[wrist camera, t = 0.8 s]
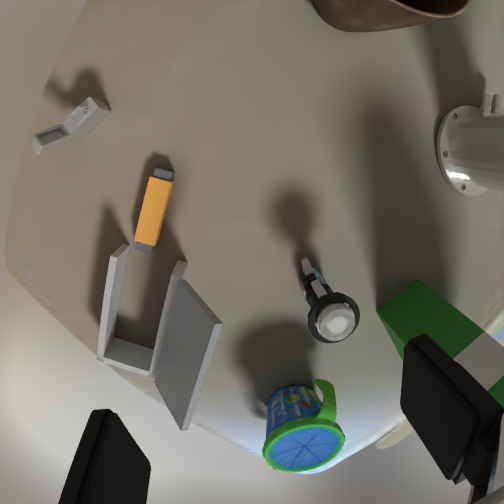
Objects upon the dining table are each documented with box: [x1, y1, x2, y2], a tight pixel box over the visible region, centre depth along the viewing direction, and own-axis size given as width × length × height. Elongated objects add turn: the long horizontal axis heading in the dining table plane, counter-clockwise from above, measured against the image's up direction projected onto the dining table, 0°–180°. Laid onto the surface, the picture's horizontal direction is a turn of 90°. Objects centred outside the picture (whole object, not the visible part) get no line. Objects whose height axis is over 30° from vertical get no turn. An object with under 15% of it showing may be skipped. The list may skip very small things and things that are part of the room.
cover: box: [154, 279, 223, 431], centre depth 31 cm, size 14×8×1 cm
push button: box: [300, 258, 360, 343], centre depth 35 cm, size 7×5×10 cm
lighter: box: [30, 97, 111, 155], centre depth 28 cm, size 7×2×8 cm, turn 127°
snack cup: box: [262, 379, 345, 472], centre depth 40 cm, size 16×10×10 cm
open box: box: [97, 243, 187, 378], centre depth 36 cm, size 14×8×5 cm, turn 162°
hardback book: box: [376, 280, 504, 408], centre depth 32 cm, size 18×7×24 cm, turn 35°
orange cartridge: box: [134, 167, 174, 253], centre depth 34 cm, size 9×2×2 cm, turn 162°
